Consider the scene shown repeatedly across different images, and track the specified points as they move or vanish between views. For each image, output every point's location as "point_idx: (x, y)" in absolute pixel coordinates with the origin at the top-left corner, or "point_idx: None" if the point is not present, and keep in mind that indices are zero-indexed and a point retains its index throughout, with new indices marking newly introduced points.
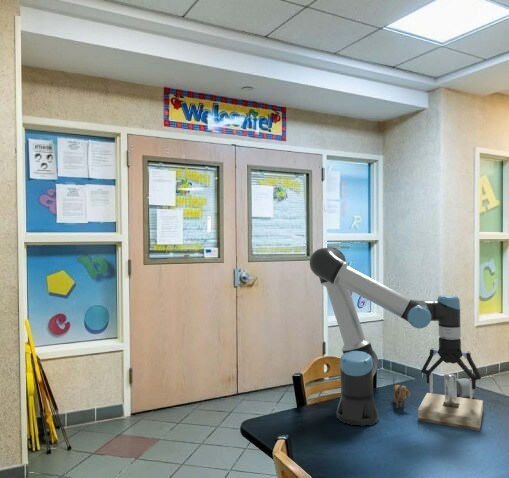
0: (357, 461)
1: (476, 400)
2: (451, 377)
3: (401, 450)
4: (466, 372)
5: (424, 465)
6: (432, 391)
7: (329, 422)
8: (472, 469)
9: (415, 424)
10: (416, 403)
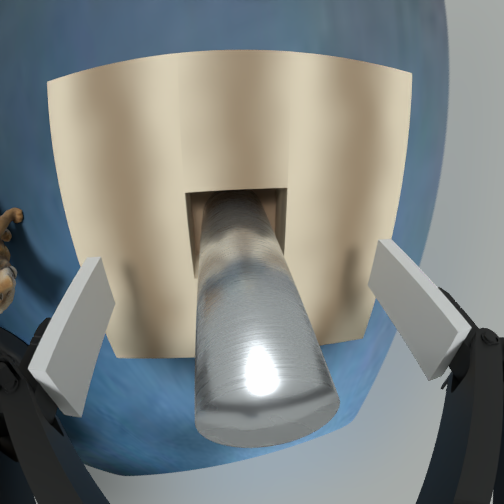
0: (142, 464)
1: (381, 80)
2: (283, 437)
3: (177, 442)
4: (442, 442)
5: (230, 454)
6: (106, 283)
7: None
8: (304, 437)
9: None
10: (37, 131)
